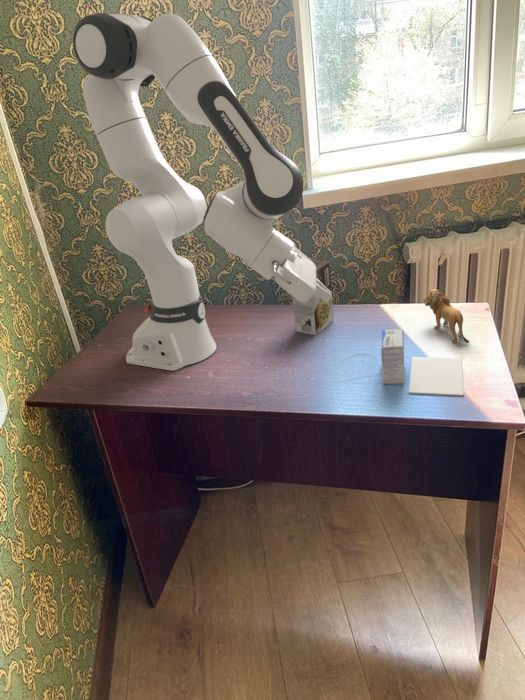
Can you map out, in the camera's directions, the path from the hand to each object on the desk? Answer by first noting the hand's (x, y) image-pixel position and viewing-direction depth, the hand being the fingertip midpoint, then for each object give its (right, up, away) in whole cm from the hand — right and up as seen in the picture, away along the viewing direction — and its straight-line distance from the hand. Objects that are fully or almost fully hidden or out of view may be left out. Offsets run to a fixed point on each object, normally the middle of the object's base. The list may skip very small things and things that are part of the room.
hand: (330, 297), depth 108 cm
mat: (+22, -16, +2) cm, 27 cm away
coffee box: (0, -5, +29) cm, 29 cm away
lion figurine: (+29, -6, +18) cm, 35 cm away
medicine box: (+14, -16, +4) cm, 21 cm away
